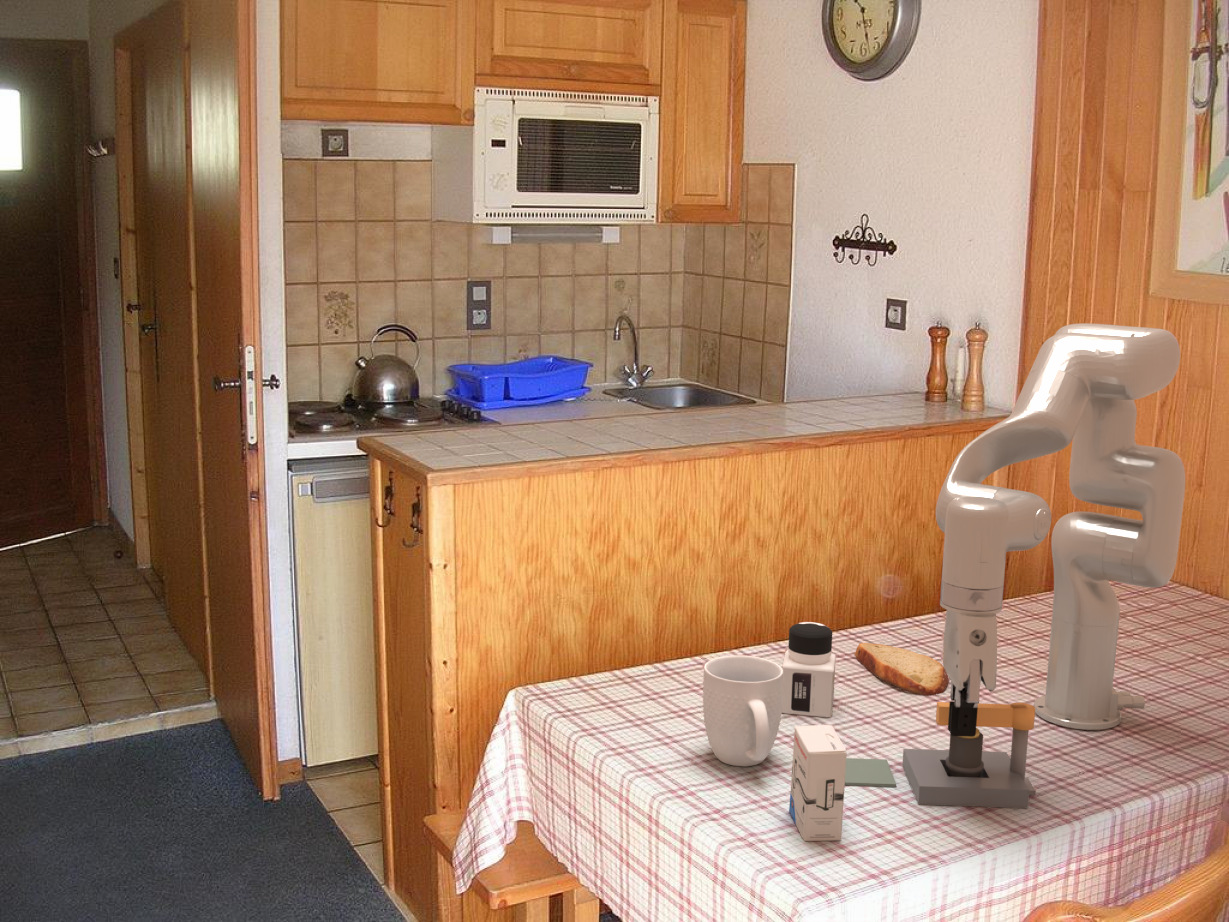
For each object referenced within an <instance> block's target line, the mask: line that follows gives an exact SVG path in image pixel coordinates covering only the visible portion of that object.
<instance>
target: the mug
mask: <svg viewBox="0 0 1229 922" xmlns="http://www.w3.org/2000/svg"><path fill="white" fill-rule="evenodd" d="M702 685H703V686H702V708H703V714H702V715H703V723H704V728H705V733H706V736H707V741H708V744H709V746H710V748H711V750H712V751H713V754H714V756H716V759H718V760H719V761H720V762H722V763H724V764H727V765H729V766H734V767H752V766H756V765H759V764H761V763H762V762H764V760H765V759H766V758H767V757H768V755H769V754H770V752H771V750H772V748H773V746H774V745H775V742H776V739H777V735H778V732H779V730H780V729H779V727H780V724H781V717H782V714H783V713H782V701H783V700H782V698H783V669H782V666H780V665H779V664H777V663H776V662H774V661H773V660H769V659H767V658H765V657H764V658H762V657H758V656H753V655H739V654H738V655H737V654H736V655H735V654H734V655H724V656H720V657H719V656H718V657H715V658H712V659H710V660H708V661H706V663H705V664H704V667H703V684H702Z"/></svg>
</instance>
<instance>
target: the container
mask: <svg viewBox="0 0 1229 922" xmlns="http://www.w3.org/2000/svg"><path fill="white" fill-rule="evenodd" d="M787 646H788V647H787V648H788V649H787V650H785V653H784V658H783V663H782V666H781V668H782V669H783V698H782V700H783V701H782V713H781V714H787V715H800V716H809V717H820V718H831V717H832V716H833V715H832V714H833V705H834V698H835V696H834V695H835V679H836V678H835V676H836V659H837V656H836V654H835V653H832V649H833V631H832V629H831V628H830V627H828V626H827V625H825V624H823V623H820V622H819V623H818V622H812V621H804V622H803V621H802V622H799V623H796V624H793V625H791V626H790V627H789V630H788V645H787Z"/></svg>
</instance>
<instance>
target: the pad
mask: <svg viewBox="0 0 1229 922" xmlns="http://www.w3.org/2000/svg"><path fill="white" fill-rule="evenodd" d="M888 761H889V760H888V759H883V758H881V759H880V758H852V757H851V758H850V757H846V771H845V786H853V787H855V786H857V787H880V788H881V787H887V788H888V787H889V788H897V782H896V779H895V777H894V774H893V772H892V768H891V767H890V764H889V762H888Z"/></svg>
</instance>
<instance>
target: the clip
mask: <svg viewBox="0 0 1229 922" xmlns="http://www.w3.org/2000/svg"><path fill="white" fill-rule="evenodd" d="M950 702H951V701H948V702H947V701H946V702H945V701H944V702H943V701H942V702H941V701H937V702H936V713H935V722H936V724H937V726H947V727H948V719H949V705H950ZM1035 717H1036V713H1035V707H1034V705H1032V704H1030V703H1027V702H1011V704H1010V703H1009V704H1008V703H980V702H979V703H978V710H977V724H976V728H977V727H979V728H980V727H981V728H982V727H984V728H1012V729H1013V728H1014V729H1018V730H1029V731H1031V730H1033V729H1034V728H1035Z"/></svg>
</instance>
